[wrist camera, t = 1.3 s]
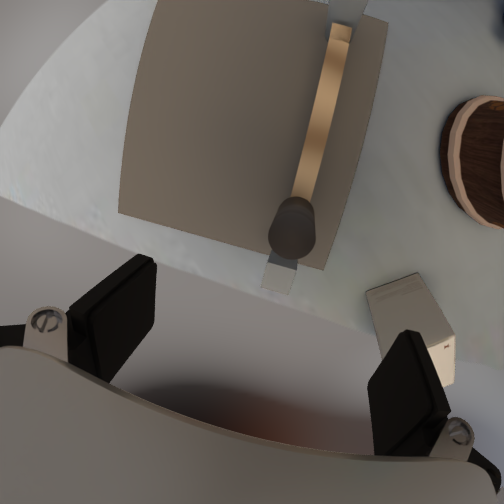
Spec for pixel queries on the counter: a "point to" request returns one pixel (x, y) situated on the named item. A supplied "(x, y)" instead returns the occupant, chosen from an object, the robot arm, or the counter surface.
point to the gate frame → (340, 12)
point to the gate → (311, 157)
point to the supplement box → (413, 321)
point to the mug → (476, 159)
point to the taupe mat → (242, 118)
